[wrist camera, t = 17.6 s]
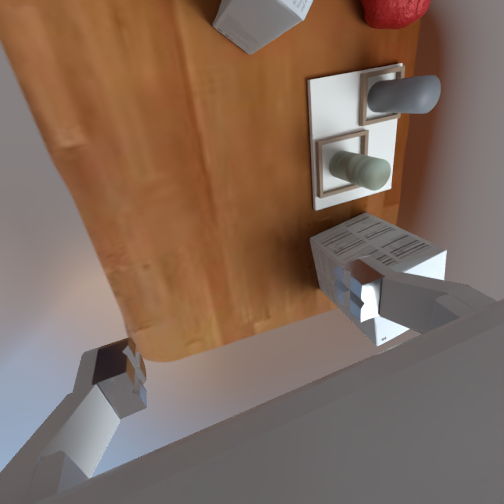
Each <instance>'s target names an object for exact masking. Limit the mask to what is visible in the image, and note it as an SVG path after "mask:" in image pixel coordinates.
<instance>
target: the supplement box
mask: <svg viewBox="0 0 504 504" xmlns="http://www.w3.org/2000/svg"><path fill="white" fill-rule="evenodd" d="M310 244H311V249H312V254H313V258H314V263H315V268H316V272H317V277H318V281H319V286H320V290H321V291H322V292H323V293H324V294H325V295H326V296H327V297H328V298H329V299H330V300H331V301H332V302H333V303H334V304H335V305H336V306H337V307H338V308H339V309H340V310H341V311H342V312H343V313H344V314H345V315H346V316H347V317H348V318H349V319H350V320H351V321H352V322H353V323H354V324H355V325H356V326H357V327H358V328H359V329H360V330H361V331H362V332H363V333H364V334H365V335H366V336H367V337H368V338H369V339H370V340H371V341H372V342H373V343H374V344H375V345H376V346H379V345H381V344H383V343H385V342H386V341H388V340H390V339H392V338H394V337H396V336H397V335H399V334H401V333H403V332H405V331H407V330H408V329H409V328H407V327H404V326H402V325H399V324H397V323H394V322H392V321H390V320H387V319H385V318H382V317H380V316H379V315H378V316H376V317H373V318H370V319H367V320H365V321H362V322H360V321H359V320H358V319H357V318H356V317H355V316H354V315H353V314H352V313H351V312H350V307H348V306H345V305H343V304H342V303H341V302H340V301H339V300H338V298H337V297H336V294H335V291H334V283H335V282H336V280H337V278H336V277H335V276H334V269H335V267H336V266H339V265H342V264H344V263H347V262H350V261H353V260H356V259H358V258H360V257H363V256H366V255H369V256H372V257H373V258H375V259H376V260H378V261H379V262H381V263H383V264H384V265H386V266H387V267H389V268H390V269H392V270H393V271H395V272H397V273H398V272H404V273H409V274H415V275H420V276H425V277H430V278H435V279H440V280H444V272H445V261H446V252H447V250H446V249H443V248H441V247H439V246H437V245H435V244H433V243H430V242H428V241H426V240H424V239H422V238H420V237H418V236H416V235H413V234H411V233H409V232H407V231H405V230H403V229H401V228H398V227H397V226H394V225H392V224H390V223H388V222H386V221H384V220H382V219H380V218H378V217H375V216H373V215H371V214H369V213H367V212H366V213H363V214H361V215H359V216H357V217H354V218H352V219H350V220H348V221H346V222H343V223H341V224H339V225H337V226H335V227H332V228H330V229H328V230H326V231H324V232H321V233H319V234H317V235H315V236H313V237H311V238H310Z"/></svg>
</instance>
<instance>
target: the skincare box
mask: <svg viewBox="0 0 504 504" xmlns="http://www.w3.org/2000/svg"><path fill="white" fill-rule="evenodd" d="M312 2H313V0H222V1H221V4H220V7H219V10H218V13H217V15H216V18H215V20H214V22H213V25H212V26H213V27H214V28H215V29H216V30H218V31H219V32H220V33H222V34H223V35H224V36H226V37H227V38H228V39H229V40H231V41H232V42H233V43H235V44H236V45H237V46H238V47H240V48H241V49H242V50H244V51H245V52H246V53H248V54H249V55H251V54H253V53H254V52H256V51H257V50H259V49H260V48H262V47H263V46H265V45H266V44H268V43H269V42H271V41H272V40H274V39H275V38H277V37H278V36H280V35H281V34H283V33H284V32H286V31H287V30H289V29H290V28H292V27H293V26H295V25H296V24H298V23H299V22H301V21H303V20H304V18H305V16H306V14H307V12H308V10H309V8H310V6H311V4H312Z"/></svg>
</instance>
